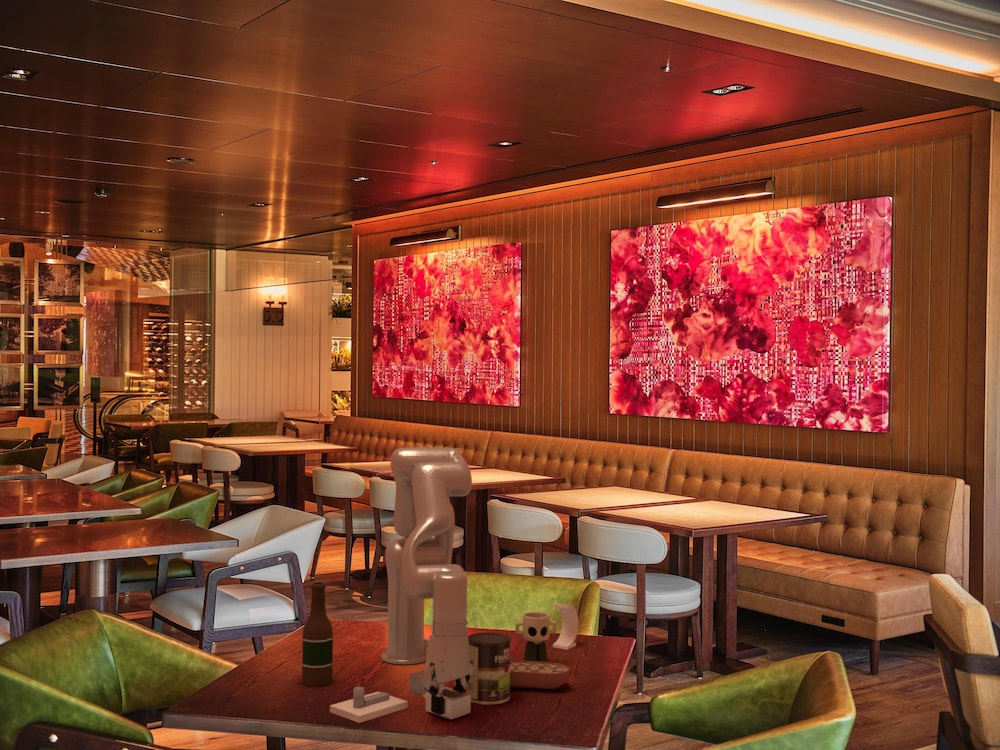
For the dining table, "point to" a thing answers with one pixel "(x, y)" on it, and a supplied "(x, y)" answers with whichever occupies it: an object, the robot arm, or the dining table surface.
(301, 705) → the dining table surface
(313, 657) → the beer bottle
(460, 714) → the link
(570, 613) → the headphone stand
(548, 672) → the mitochondrion model
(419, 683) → the block
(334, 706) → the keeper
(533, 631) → the character mug
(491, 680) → the coffee can
